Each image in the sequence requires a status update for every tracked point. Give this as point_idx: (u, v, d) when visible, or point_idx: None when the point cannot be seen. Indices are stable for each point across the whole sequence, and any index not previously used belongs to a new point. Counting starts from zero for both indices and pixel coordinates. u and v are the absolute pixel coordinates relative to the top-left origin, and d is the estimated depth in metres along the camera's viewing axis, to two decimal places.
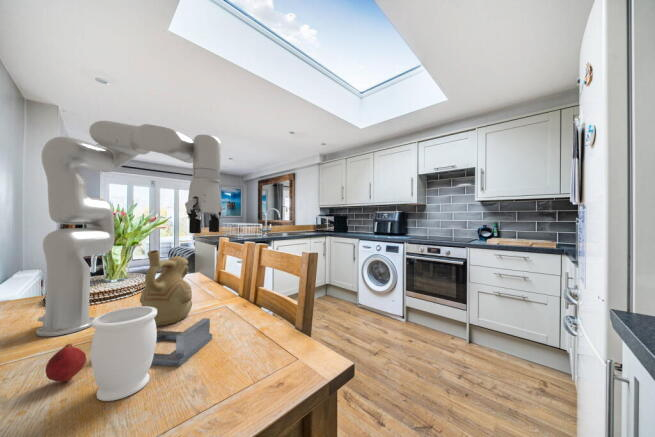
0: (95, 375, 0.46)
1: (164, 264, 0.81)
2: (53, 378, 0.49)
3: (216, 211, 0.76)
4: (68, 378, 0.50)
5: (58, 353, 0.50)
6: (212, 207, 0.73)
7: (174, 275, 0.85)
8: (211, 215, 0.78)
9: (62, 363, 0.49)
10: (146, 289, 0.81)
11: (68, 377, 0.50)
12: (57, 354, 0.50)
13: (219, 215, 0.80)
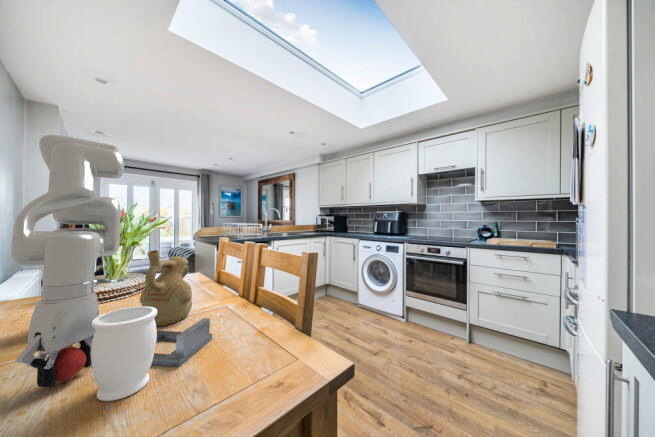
0: (95, 375, 0.46)
1: (164, 264, 0.81)
2: None
3: (88, 335, 0.54)
4: (68, 378, 0.50)
5: (58, 353, 0.50)
6: (76, 335, 0.51)
7: (174, 275, 0.85)
8: (81, 341, 0.55)
9: (62, 363, 0.49)
10: (146, 289, 0.81)
11: (68, 377, 0.50)
12: (57, 354, 0.50)
13: None
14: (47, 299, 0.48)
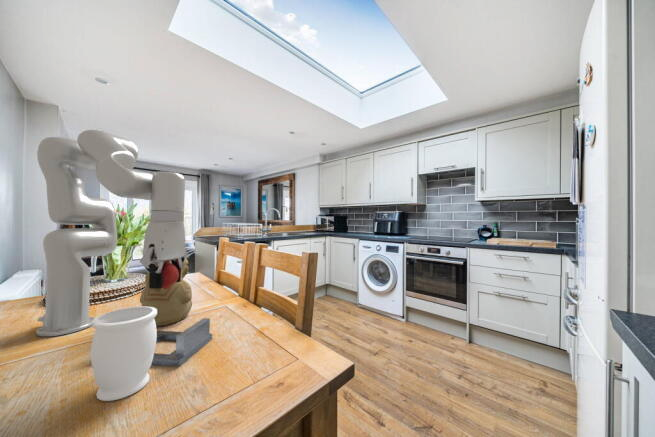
0: (95, 375, 0.46)
1: None
2: None
3: (180, 255, 0.67)
4: (168, 285, 0.64)
5: None
6: (174, 253, 0.65)
7: None
8: (172, 261, 0.68)
9: (166, 272, 0.63)
10: (146, 289, 0.81)
11: (169, 284, 0.64)
12: None
13: (182, 261, 0.70)
14: (156, 220, 0.61)
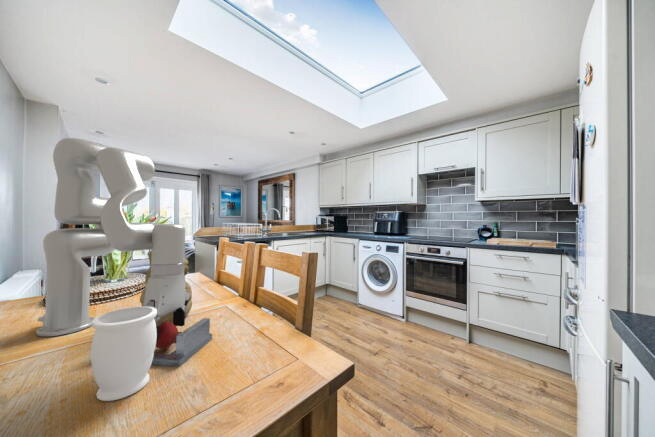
0: (95, 375, 0.46)
1: None
2: (159, 346, 0.62)
3: (180, 305, 0.67)
4: (168, 346, 0.64)
5: (160, 326, 0.63)
6: (174, 304, 0.65)
7: None
8: None
9: (165, 334, 0.63)
10: None
11: (168, 345, 0.64)
12: (160, 327, 0.63)
13: (185, 304, 0.71)
14: (156, 274, 0.61)
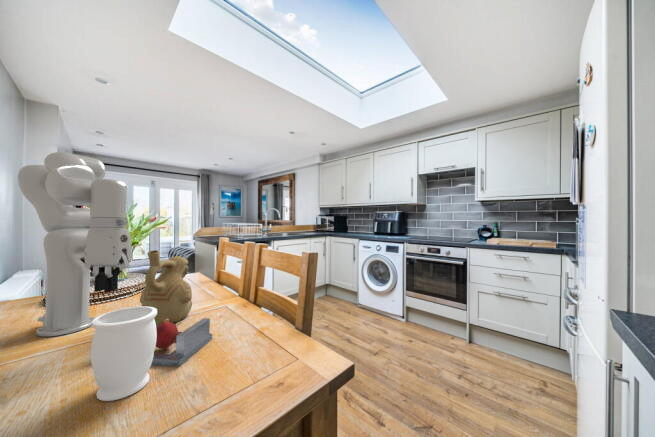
0: (95, 375, 0.46)
1: (164, 264, 0.81)
2: (159, 345, 0.62)
3: (108, 263, 0.64)
4: (168, 346, 0.64)
5: (160, 326, 0.64)
6: (98, 259, 0.64)
7: (174, 275, 0.85)
8: None
9: (165, 334, 0.63)
10: (146, 289, 0.81)
11: (168, 345, 0.64)
12: (160, 327, 0.63)
13: (115, 271, 0.66)
14: None
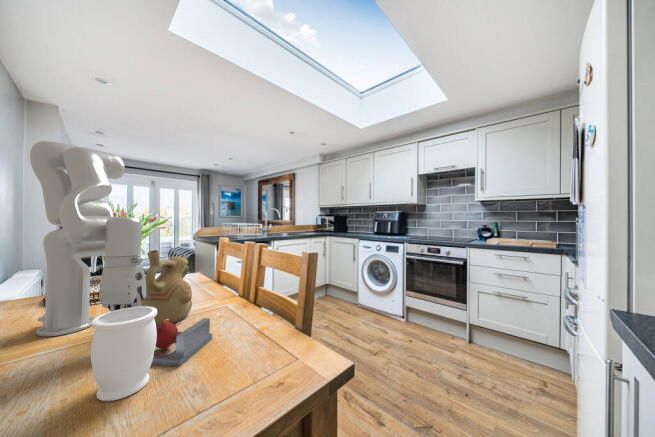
0: (95, 375, 0.46)
1: (164, 264, 0.81)
2: (159, 345, 0.62)
3: (123, 302, 0.64)
4: (168, 346, 0.64)
5: (160, 326, 0.64)
6: (113, 298, 0.64)
7: (174, 275, 0.85)
8: None
9: (165, 334, 0.63)
10: (146, 289, 0.81)
11: (168, 345, 0.64)
12: (160, 327, 0.63)
13: None
14: None
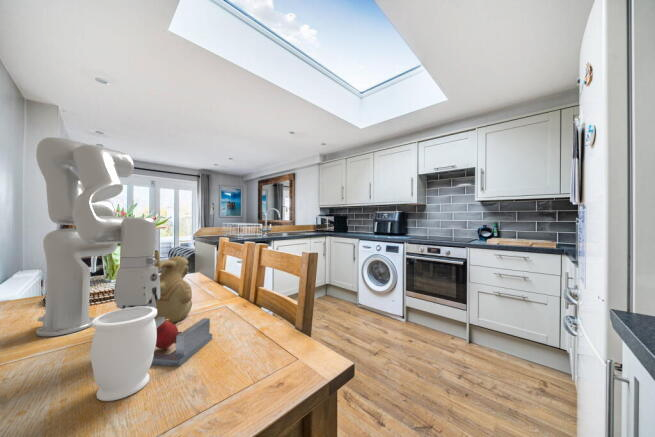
0: (95, 375, 0.46)
1: (164, 264, 0.81)
2: (159, 345, 0.62)
3: (138, 303, 0.63)
4: (168, 346, 0.64)
5: (161, 326, 0.64)
6: (128, 299, 0.63)
7: (174, 275, 0.85)
8: None
9: (165, 334, 0.63)
10: None
11: (168, 345, 0.64)
12: (160, 327, 0.63)
13: None
14: None
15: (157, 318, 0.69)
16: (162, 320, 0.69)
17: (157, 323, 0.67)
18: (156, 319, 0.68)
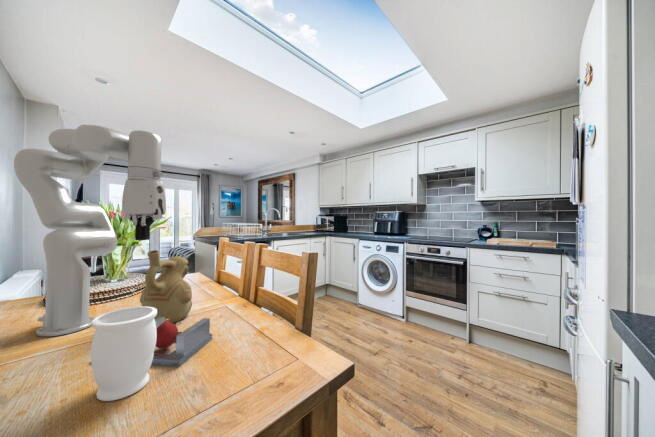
0: (95, 375, 0.46)
1: (164, 264, 0.81)
2: (159, 345, 0.62)
3: (145, 212, 0.67)
4: (168, 346, 0.64)
5: (161, 326, 0.64)
6: (136, 208, 0.67)
7: (174, 275, 0.85)
8: None
9: (165, 334, 0.63)
10: (146, 289, 0.81)
11: (168, 345, 0.64)
12: (160, 327, 0.63)
13: (148, 220, 0.68)
14: None
15: (157, 318, 0.69)
16: (162, 320, 0.69)
17: (157, 323, 0.67)
18: (156, 319, 0.68)
